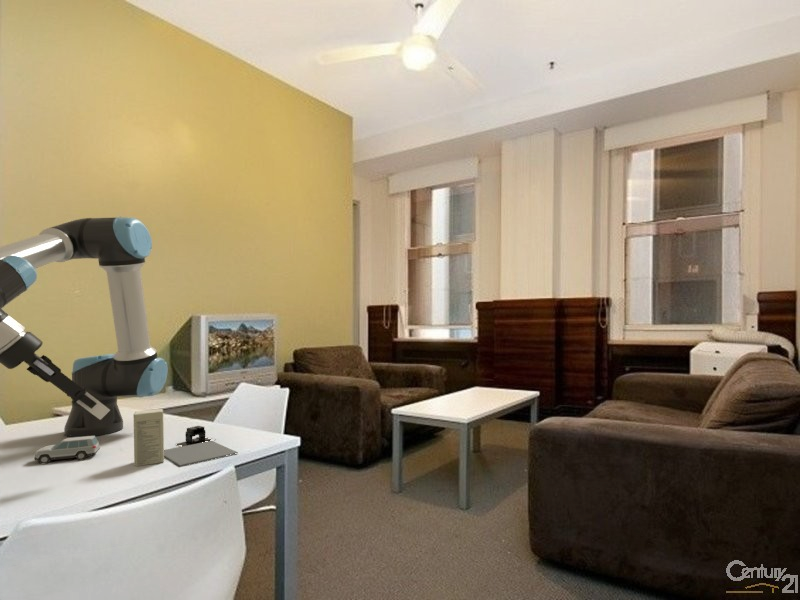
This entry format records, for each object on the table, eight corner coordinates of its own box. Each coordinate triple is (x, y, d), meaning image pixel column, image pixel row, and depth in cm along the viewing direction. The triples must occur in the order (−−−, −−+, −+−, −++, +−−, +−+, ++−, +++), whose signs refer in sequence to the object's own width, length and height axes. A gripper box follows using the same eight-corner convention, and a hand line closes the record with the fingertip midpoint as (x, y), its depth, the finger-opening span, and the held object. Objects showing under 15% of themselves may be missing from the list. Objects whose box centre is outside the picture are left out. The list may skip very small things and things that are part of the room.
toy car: (40, 459, 116) (40, 438, 116) (100, 453, 120) (100, 433, 121) (31, 465, 110) (31, 444, 111) (94, 459, 115) (95, 439, 115)
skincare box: (164, 458, 115) (164, 408, 115) (163, 462, 111) (164, 411, 112) (134, 461, 112) (134, 410, 113) (132, 466, 108) (133, 413, 109)
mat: (157, 452, 119) (157, 451, 119) (211, 442, 129) (211, 440, 129) (180, 466, 108) (180, 465, 108) (237, 453, 118) (237, 452, 118)
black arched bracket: (180, 451, 123) (180, 433, 123) (166, 447, 127) (166, 430, 127) (222, 440, 133) (222, 424, 133) (208, 437, 137) (208, 421, 137)
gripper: (-10, 355, 97) (84, 423, 108) (-6, 359, 87) (97, 433, 98) (23, 329, 101) (111, 397, 112) (31, 330, 91) (126, 404, 102)
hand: (104, 414), depth 105 cm, fingers closed
